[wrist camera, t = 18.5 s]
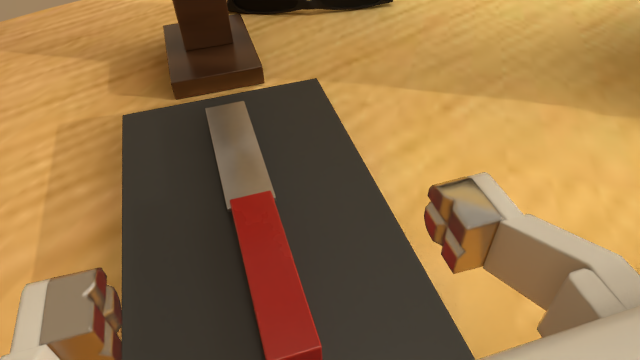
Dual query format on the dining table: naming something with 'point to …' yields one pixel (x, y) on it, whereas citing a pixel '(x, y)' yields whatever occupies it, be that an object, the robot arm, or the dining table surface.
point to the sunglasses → (297, 5)
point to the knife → (262, 239)
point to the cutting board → (300, 229)
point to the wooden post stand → (209, 49)
